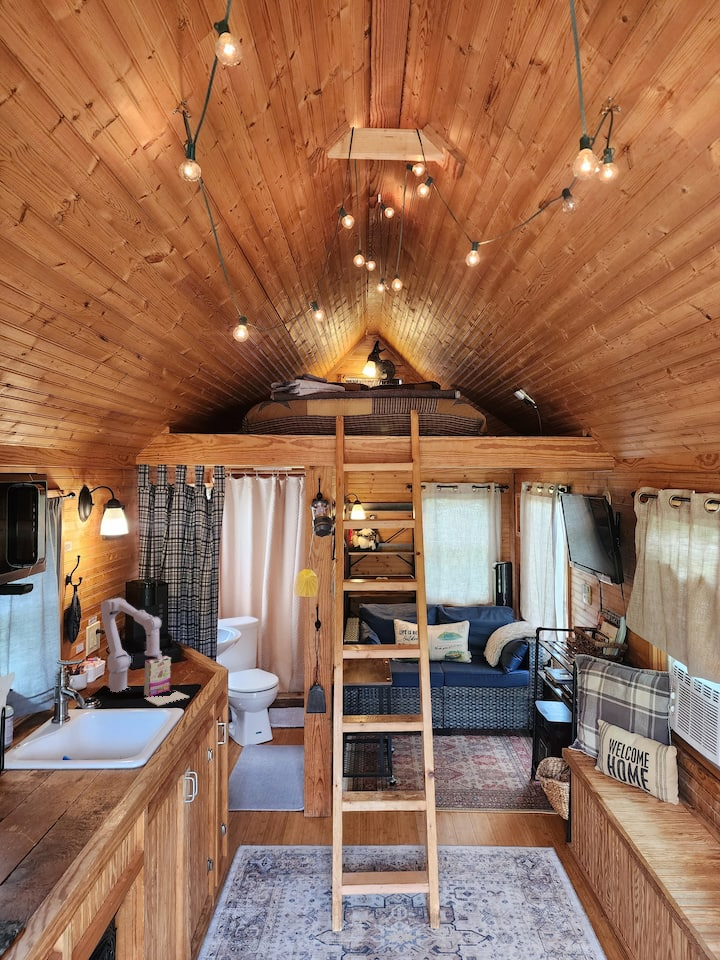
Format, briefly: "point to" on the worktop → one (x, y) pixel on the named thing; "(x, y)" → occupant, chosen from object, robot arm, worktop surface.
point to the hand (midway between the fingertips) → (153, 672)
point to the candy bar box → (157, 676)
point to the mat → (166, 698)
